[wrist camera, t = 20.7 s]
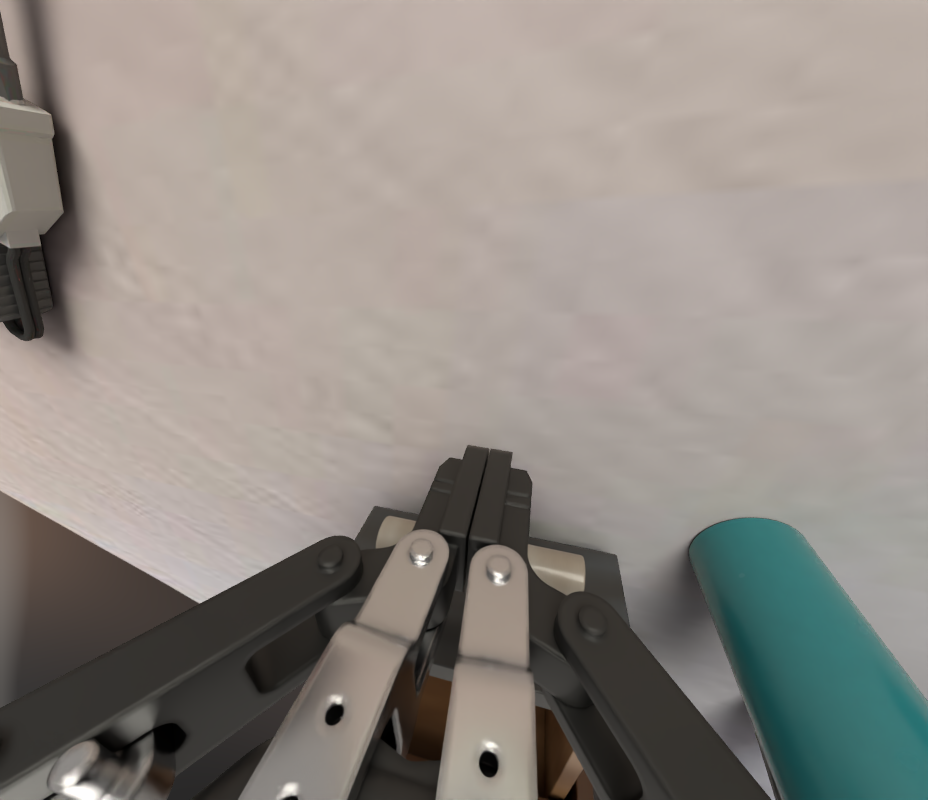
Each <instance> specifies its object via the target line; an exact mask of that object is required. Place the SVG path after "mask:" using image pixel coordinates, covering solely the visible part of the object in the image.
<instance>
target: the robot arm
mask: <svg viewBox="0 0 928 800" xmlns="http://www.w3.org/2000/svg"><path fill="white" fill-rule="evenodd" d="M512 453H513V452H508V451H502V450H496V449H491V450H490V454H489V448H483V447H477V446H471V445H468V446H467V448H466V451H465V454H464V457H463V459H462V460H461V459H455V458H449V459H448V460H447V461H445V462H444V463H443V464H442V465H441V466H440V467H439V469H438V471H437V474H436V476H435V478H434V481H433V483H432V485H431V488H430V491H429V492H428V495H427V497H426V500H425V502H424V504H423V507H422V509H421V511H420V514H419V516H418V518H417V521H416V523H415V525H414V528H413V529H412V531H411V532H409V533H408V534H406V535H404V536H403V537H402V538H401V539H400V540H399V541H398V543H397V544H395V545H393V546H389V547H385V548H376V549H365V550H360V547H359V545H358V544H357V543H356V541H354V540H353V539H351V538H349V537H346V536H332V537H328V538H325V539H323V540H321V541H319V542H317V543H315V544H313V545H311V546H309V547H307V548H305V549H304V550H302V551H300V552H298V553H296V554H294V555H292V556H290V557H288V558H286V559H284V560H283V561H281V562H279V563H277V564H275V565H273V566H271V567H269V568H267V569H265V570H263V571H262V572H260V573H258V574H256V575H254V576H252V577H250V578H248V579H246V580H244V581H242V582H240V583H239V584H237V585H235V586H233V587H231V588H229V589H227V590H225V591H223V592H221V593H219V594H218V595H216V596H214V597H212V598H210V599H208V600H206V601H204V602H202V603H200V604H198V605H197V606H195V607H193V608H191V609H189V610H187V611H185V612H183V613H181V614H179V615H177V616H175V617H174V618H172V619H170V620H168V621H166V622H164V623H162V624H160V625H158V626H156V627H154V628H153V629H151V630H149V631H147V632H145V633H143V634H142V635H139V636H137V637H135V638H133V639H132V640H130V641H128V642H126V643H124V644H122V645H120V646H118V647H116V648H114V649H112V650H110V651H109V652H107V653H105V654H103V655H101V656H99V657H97V658H95V659H93V660H91V661H89V662H88V663H86V664H84V665H82V666H80V667H78V668H76V669H74V670H72V671H70V672H68V673H66V674H65V675H63V676H61V677H59V678H57V679H55V680H53V681H51V682H49V683H47V684H45V685H44V686H42V687H40V688H38V689H36V690H34V691H32V692H30V693H28V694H26V695H25V696H23V697H21V698H19V699H17V700H15V701H13V702H11V703H9V704H7V705H5V706H3V707H2V708H0V800H166V799H167V797H168V795H169V793H170V790H171V788H172V785H173V782H174V778H175V776H176V775H178V774H179V773H181V772H182V771H183V770H185V769H186V768H187V767H189V766H190V765H192V764H193V763H194V762H196V761H197V760H198V759H200V758H201V757H203V756H204V755H205V754H207V753H208V752H209V751H211V750H212V749H213V748H215V747H216V746H217V745H219V744H220V743H222V742H223V741H224V740H226V739H227V738H228V737H230V736H231V735H233V734H234V733H235V732H237V731H238V730H239V729H241V728H242V727H244V726H245V725H246V724H248V723H249V722H250V721H252V720H253V719H254V718H256V717H257V716H259V715H260V714H261V713H263V712H264V711H265V710H267V709H268V708H269V707H271V706H272V705H273V704H275V703H276V702H278V701H279V700H280V699H282V698H283V697H284V696H286V695H287V694H289V693H290V692H291V691H293V690H294V689H295V688H297V687H298V686H299V685H301V684H302V683H303V682H305V681H306V680H307V681H306V683H305V685H304V687H303V688H302V690H301V692H300V693H299V695H298V697H297V699H296V700H295V702H294V704H293V706H292V707H291V709H290V711H289V712H288V714H287V716H286V718H285V719H284V721H283V723H282V724H281V726H280V728H279V730H278V732H277V733H276V735H275V736H274V737H273V738H271V739H269V740H267V741H265V742H264V743H262V744H260V745H259V746H257V747H256V748H254V749H253V750H251V751H250V752H249V753H247V754H246V755H245V756H243V757H242V758H241V759H240V760H238V761H237V762H236V763H235V764H234V765H232V766H231V767H230V768H229V769H227V770H226V771H225V772H224V773H222V774H221V775H220V776H219V777H218V778H216V779H215V780H214V781H213V782H211V783H210V784H209V785H208V786H207V787H205V788H204V789H203V790H202V791H200V792H199V793H198V794H197V795H196V796H194V797H193V798H192V799H191V800H538V791H537V754H536V717H535V688H534V682H535V683H536V684H537V685H539V686H540V687H541V690H542V693H543V695H544V697H545V699H546V701H547V703H548V704H549V706H550V708H551V710H552V712H553V714H554V715H555V717H556V719H557V721H558V723H559V725H560V727H561V728H562V730H563V732H564V734H565V736H566V738H567V740H568V741H569V743H570V745H571V747H572V749H573V751H574V753H575V754H576V756H577V758H578V760H579V762H580V764H581V765H582V767H583V769H584V771H585V773H586V775H587V777H588V778H589V780H590V782H591V784H592V786H593V788H594V790H595V791H596V793H597V795H598V797H599V799H600V800H771V799H770V797H769V796H768V795H767V794H766V793H765V791H764V790H763V789H762V788H761V786H760V785H759V784H758V783H757V782H756V780H755V779H754V778H753V777H752V776H751V774H750V773H749V772H748V771H747V769H746V768H745V767H744V766H743V765H742V763H741V762H740V761H739V760H738V758H737V757H736V756H735V755H734V754H733V752H732V751H731V750H730V749H729V748H728V746H727V745H726V744H725V743H724V741H723V740H722V739H721V738H720V737H719V735H718V734H717V733H716V732H715V730H714V729H713V728H712V727H711V726H710V724H709V723H708V722H707V721H706V720H705V718H704V717H703V716H702V715H701V713H700V712H699V711H698V710H697V709H696V707H695V706H694V705H693V704H692V702H691V701H690V700H689V699H688V698H687V696H686V695H685V694H684V693H683V691H682V690H681V689H680V688H679V687H678V685H677V684H676V683H675V682H674V681H673V679H672V678H671V677H670V676H669V674H668V673H667V672H666V671H665V670H664V668H663V667H662V666H661V665H660V663H659V662H658V661H657V660H656V659H655V657H654V656H653V655H652V654H651V653H650V651H649V650H648V649H647V648H646V646H645V645H644V644H643V643H642V642H641V640H640V639H639V638H638V637H637V635H636V634H635V633H634V632H633V631H632V629H631V628H630V627H629V626H628V625H627V623H626V622H625V621H624V620H623V618H622V617H621V616H620V615H619V614H618V612H617V611H616V610H615V609H614V608H613V607H612V606H611V605H610V604H609V603H608V602H607V601H606V600H604V599H603V598H601V597H600V596H597V595H595V594H593V593H590V592H584V591H578V592H573V593H571V594H569V595H565V594H563V593H562V592H560V591H558V590H556V589H555V588H553V587H551V586H549V585H548V584H546V583H545V582H544V581H542V580H541V579H540V578H539V577H538V576H537V575H536V573H535V572H534V571H533V569H532V567H531V565H530V563H529V560H528V538H529V524H530V508H531V496H532V481H531V479H530V477H529V475H528V473H527V471H525V470H520V469H514V468H511V461H512ZM465 581H466V588H465V593H466V598H465V606H464V613H463V620H462V627H461V634H460V641H459V648H458V654H457V657H456V662H455V668H454V674H453V681H452V688H451V695H450V701H449V708H448V715H447V722H446V729H445V736H444V743H443V750H442V757H441V760H436V761H416V762H415V761H409V760H407V759H406V756H407V753H408V750H409V747H410V744H411V740H412V737H413V733H414V729H415V725H416V721H417V716H418V710H419V706H420V702H421V698H422V695H423V691H424V688H425V685H426V682H427V679H428V676H429V673H430V670H431V667H432V664H433V661H434V658H435V655H436V652H437V649H438V646H439V643H440V640H441V637H442V634H443V631H444V628H445V624H446V621H447V617H448V612H449V609H450V606H451V602H452V598H453V594H454V591H458V592H463V589H464V585H465Z"/></svg>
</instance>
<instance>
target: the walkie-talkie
mask: <svg viewBox="0 0 928 800" xmlns="http://www.w3.org/2000/svg"><path fill="white" fill-rule="evenodd" d="M53 136H54V127H53V122H52V116H51V114H50V113H48V112H46V111H45V110H43V109H41V108H39V107H38V106H36V105H34V104H33V103H31V102H29V101H28V100H26V99H24V98H23V95H22V90H21V85H20V80H19V74H18V69H17V65H16V64H15V63H14V62H13V61H12V60H11V59H10V58H9V53H8V48H7V43H6V38H5V33H4V28H3V23H2V18H1V13H0V322H3V323H4V325H5V326H6V328H7V329H8V330H9V331H10V333H12V334H13V335H15V336H16V337H18V338H19V339H21V340H24V341H29V340H32V339H35V338H40V337H42V336H43V332H44V326H43V321H42V317H41V313H45V312H46V311H48V310H50V309H52V308H53V303H52V296H51V291H50V287H49V282H48V277H47V272H46V267H45V263H44V258H43V253H42V248H41V242H40V237H39V234H45V233H46V232H47V231H48V230H49V229H50V227H51V226H52V225H53V224H54V223H55V222H56V221H57V220H58V218H59V217H60V216H61V215H62V214H63V213H64V212H63V205H62V199H61V193H60V187H59V180H58V174H57V168H56V162H55V155H54V149H53V143H52V138H53Z"/></svg>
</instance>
